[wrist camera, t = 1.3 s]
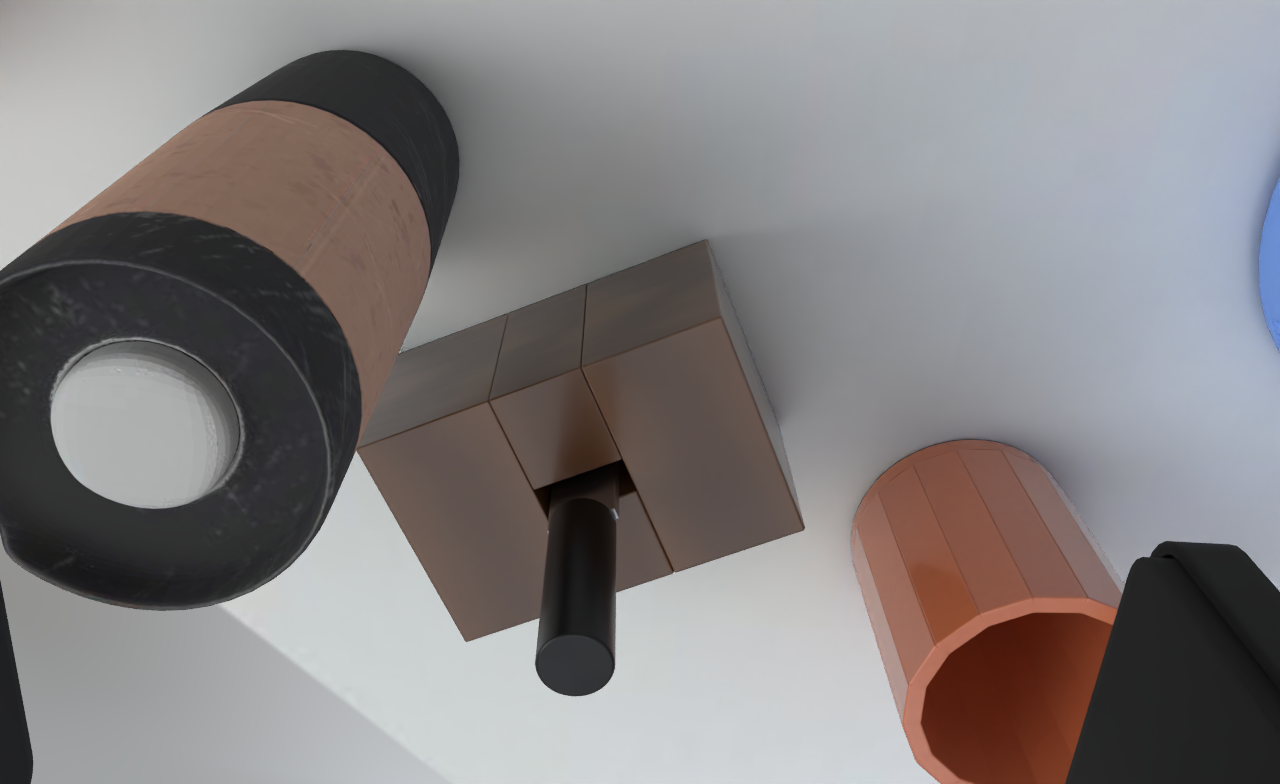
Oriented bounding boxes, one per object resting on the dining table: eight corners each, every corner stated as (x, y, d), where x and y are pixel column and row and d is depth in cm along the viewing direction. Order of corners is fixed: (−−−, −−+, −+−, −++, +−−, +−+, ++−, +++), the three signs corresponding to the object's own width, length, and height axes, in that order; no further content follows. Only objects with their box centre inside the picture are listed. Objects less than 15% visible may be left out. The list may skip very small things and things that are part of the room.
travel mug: (502, 98, 39) (398, 350, 21) (423, 298, 42) (274, 667, 24) (275, -1, 37) (-48, 178, 19) (210, 213, 40) (-119, 539, 22)
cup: (1038, 408, 44) (1144, 562, 35) (1085, 582, 48) (1193, 762, 39) (823, 481, 45) (872, 647, 36) (884, 645, 49) (943, 833, 40)
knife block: (706, 238, 41) (722, 316, 35) (780, 428, 44) (806, 530, 38) (394, 355, 43) (355, 449, 36) (487, 529, 46) (465, 643, 40)
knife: (608, 359, 43) (600, 622, 29) (628, 405, 44) (630, 682, 30) (552, 379, 43) (518, 649, 29) (573, 424, 44) (550, 708, 30)
